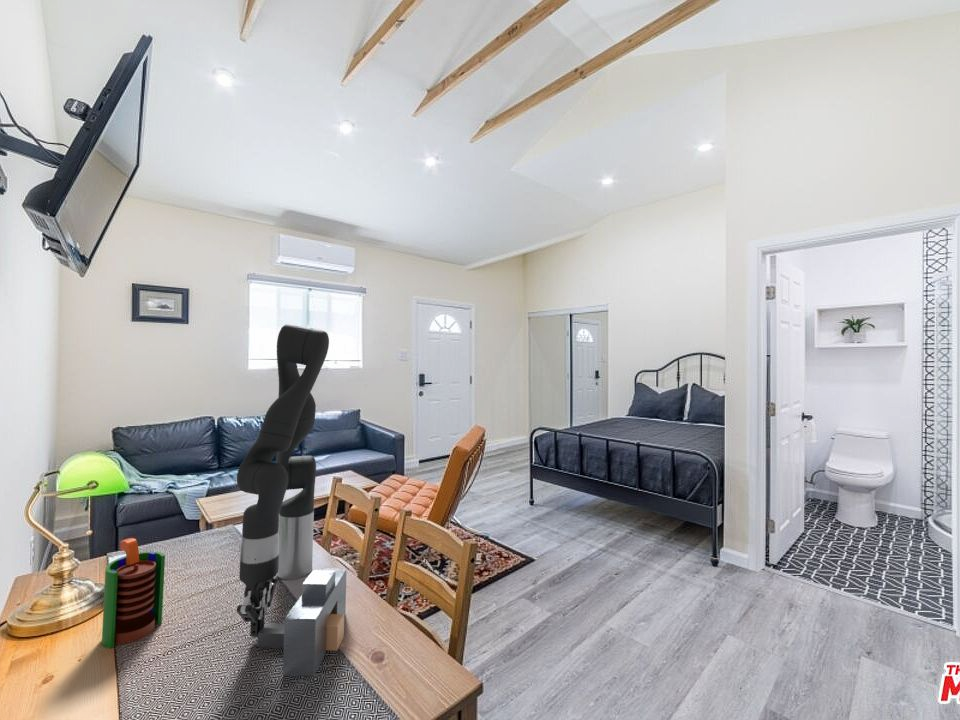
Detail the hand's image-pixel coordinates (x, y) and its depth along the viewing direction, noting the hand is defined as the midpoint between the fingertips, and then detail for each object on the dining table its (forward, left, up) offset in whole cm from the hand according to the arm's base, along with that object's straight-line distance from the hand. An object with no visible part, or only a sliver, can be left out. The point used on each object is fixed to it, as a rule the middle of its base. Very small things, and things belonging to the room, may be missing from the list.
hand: (257, 634), depth 90 cm
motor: (-19, -22, -2) cm, 29 cm away
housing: (+7, +11, -2) cm, 13 cm away
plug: (+6, +8, -2) cm, 10 cm away
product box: (-45, -25, -2) cm, 52 cm away
